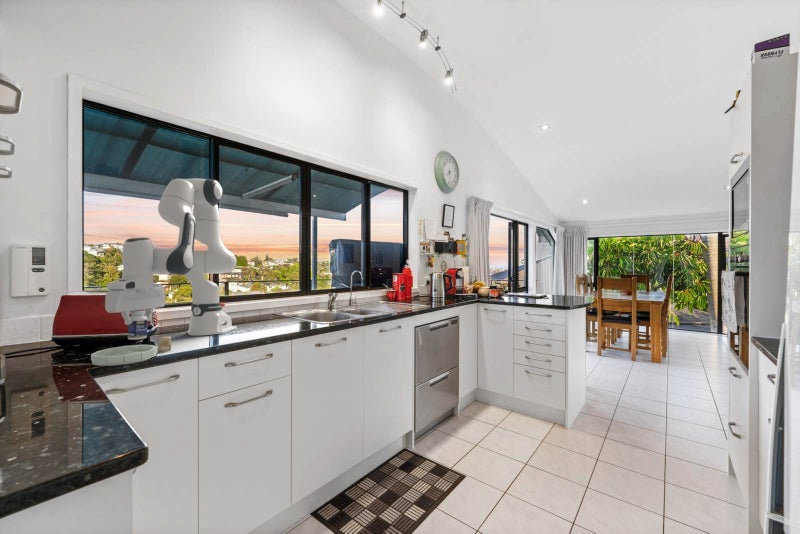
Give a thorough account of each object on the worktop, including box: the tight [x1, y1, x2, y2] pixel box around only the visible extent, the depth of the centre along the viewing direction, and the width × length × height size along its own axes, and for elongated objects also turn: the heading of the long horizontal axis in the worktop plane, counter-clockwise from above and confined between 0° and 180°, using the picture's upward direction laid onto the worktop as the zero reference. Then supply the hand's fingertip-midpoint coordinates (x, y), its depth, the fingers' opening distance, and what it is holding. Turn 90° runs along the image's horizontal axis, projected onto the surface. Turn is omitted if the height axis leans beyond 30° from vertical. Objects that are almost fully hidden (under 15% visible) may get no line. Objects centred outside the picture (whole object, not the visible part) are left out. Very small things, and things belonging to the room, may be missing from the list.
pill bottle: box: [127, 309, 148, 341], centre depth 121 cm, size 5×5×10 cm
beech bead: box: [157, 336, 172, 353], centre depth 127 cm, size 4×4×5 cm
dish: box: [90, 344, 158, 367], centre depth 117 cm, size 17×17×3 cm
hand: (137, 322), depth 121 cm, fingers closed on pill bottle, 5 cm apart
